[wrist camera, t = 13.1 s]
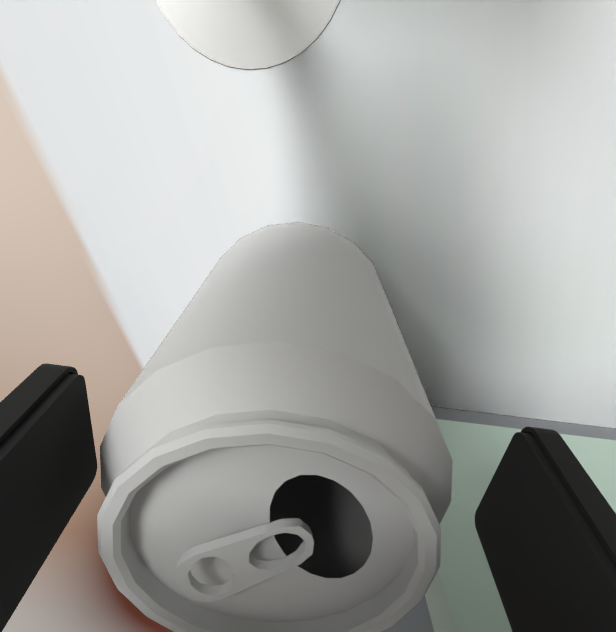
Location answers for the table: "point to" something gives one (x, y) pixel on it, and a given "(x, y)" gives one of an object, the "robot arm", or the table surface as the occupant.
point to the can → (277, 452)
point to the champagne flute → (248, 28)
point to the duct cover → (460, 532)
